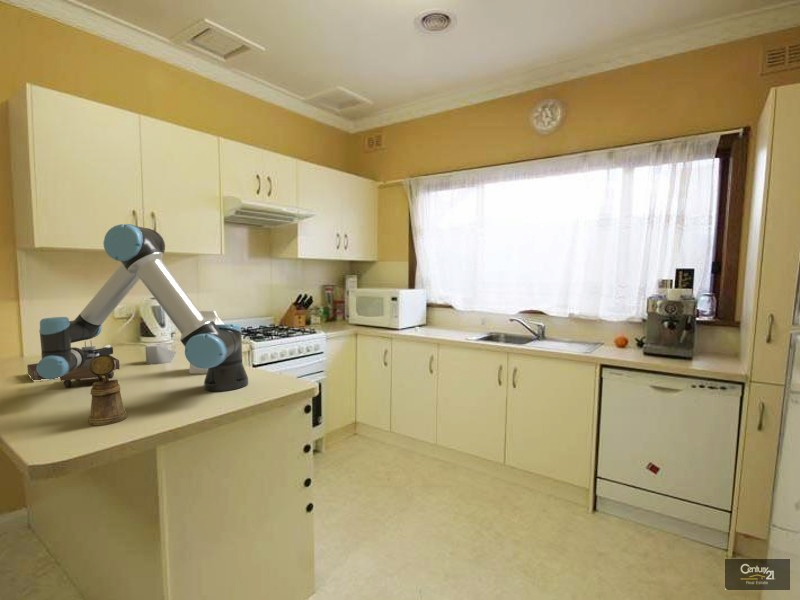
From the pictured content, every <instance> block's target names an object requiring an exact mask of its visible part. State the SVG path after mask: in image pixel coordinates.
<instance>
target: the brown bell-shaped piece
mask: <svg viewBox="0 0 800 600" xmlns="http://www.w3.org/2000/svg"><path fill="white" fill-rule="evenodd" d="M114 367H115V363H114V360H113V359H112V358H111V357H109V356H106V355H103V354H101V355H99V356H97V357H95V358H94V359H93V360H92V361H91V362H90V371H91V372H92V373H93V374H95V375H97V376H98V378H97V382H92V388H90V395H91V401H90V402H91V403H90V404H91V405H90V414H89V416H88V424H89V425H91V426H105V425H111V424H116V423H118V422H121V421H124V420H126V419H127V418H128V416H127V415H128V414H127V410H126V409H125V406H124V402H123V398H122V395H121V394H122V393H121V386H120V383H119V381H118V379H111V380H110V378H109V375H108V374H109V373H111V372H112V371H113V370H114ZM114 371H115V370H114ZM103 374H104V375H103Z"/></svg>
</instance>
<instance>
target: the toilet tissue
mask: <svg viewBox="0 0 800 600" xmlns="http://www.w3.org/2000/svg"><path fill="white" fill-rule="evenodd" d="M144 347H145V348H144V349H145V363H146V365H150V364H152V365H164V364H165V363H166V364H171V363H172V361H173V359H174V358H175V355H176V353H177V351H174V350H170V349H168V342H159V343H158V342H155V343H149V344H145V346H144Z"/></svg>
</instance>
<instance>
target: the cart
mask: <svg viewBox="0 0 800 600" xmlns="http://www.w3.org/2000/svg"><path fill="white" fill-rule="evenodd" d="M114 363H115V367H114V370H113V371H112V372H111V373H109V374H108V375H109V379H110V378H111V377H113V378H114V373H115V371H117V370H116V360H114ZM103 375H104V374H103ZM96 378H97V379H98V376H97V375H95V374H93V373H92V372H91V371H90V367H89V368H81V366H80V367H78V368H76V369H74V370H72V371H70V372H69V373H68V374H65V375H64V376H61V377H60V382H63V385H64V388H67V387H66V386H70V385H71V386H72V381H73V380H75V381H76V380H78V381H80V380H79V379H81V380H85V379H96ZM71 386H70V387H71Z"/></svg>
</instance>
